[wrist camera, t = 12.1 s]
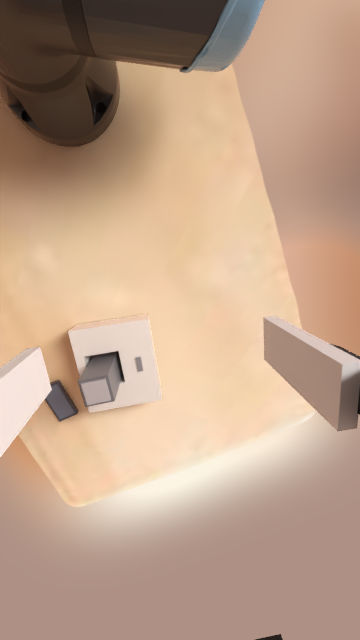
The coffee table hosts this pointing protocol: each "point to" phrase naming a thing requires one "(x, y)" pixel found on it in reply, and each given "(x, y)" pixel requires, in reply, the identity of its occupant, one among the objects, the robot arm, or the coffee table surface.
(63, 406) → the phone
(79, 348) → the outlet plate
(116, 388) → the block
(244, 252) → the coffee table surface
